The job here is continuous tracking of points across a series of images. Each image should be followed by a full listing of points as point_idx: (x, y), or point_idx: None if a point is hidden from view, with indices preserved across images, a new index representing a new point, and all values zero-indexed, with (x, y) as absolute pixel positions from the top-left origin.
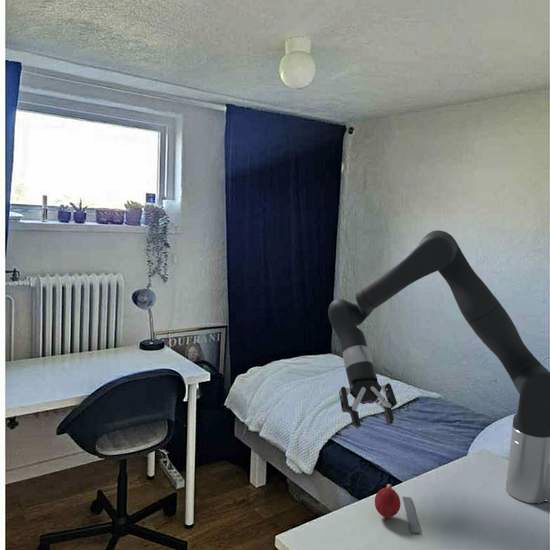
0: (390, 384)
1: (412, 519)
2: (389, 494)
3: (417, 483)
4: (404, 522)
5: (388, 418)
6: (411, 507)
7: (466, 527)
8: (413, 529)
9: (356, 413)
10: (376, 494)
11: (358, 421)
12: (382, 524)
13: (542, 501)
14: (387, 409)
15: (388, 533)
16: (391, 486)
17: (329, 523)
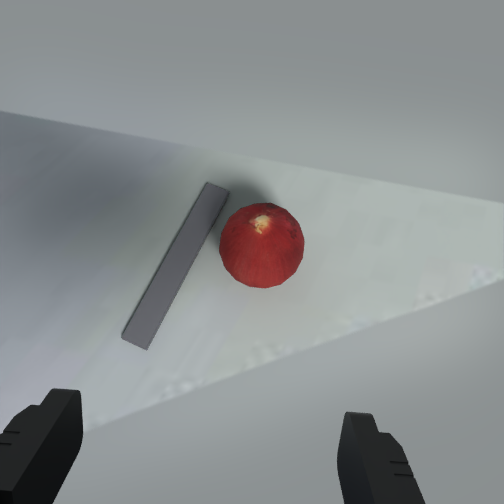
0: None
1: (193, 233)
2: (270, 208)
3: None
4: (219, 236)
5: (61, 429)
6: (157, 286)
7: (65, 185)
8: (218, 196)
9: (391, 500)
10: (295, 257)
11: (370, 431)
12: None
13: None
14: (10, 479)
15: (289, 205)
16: (252, 218)
17: (441, 275)
